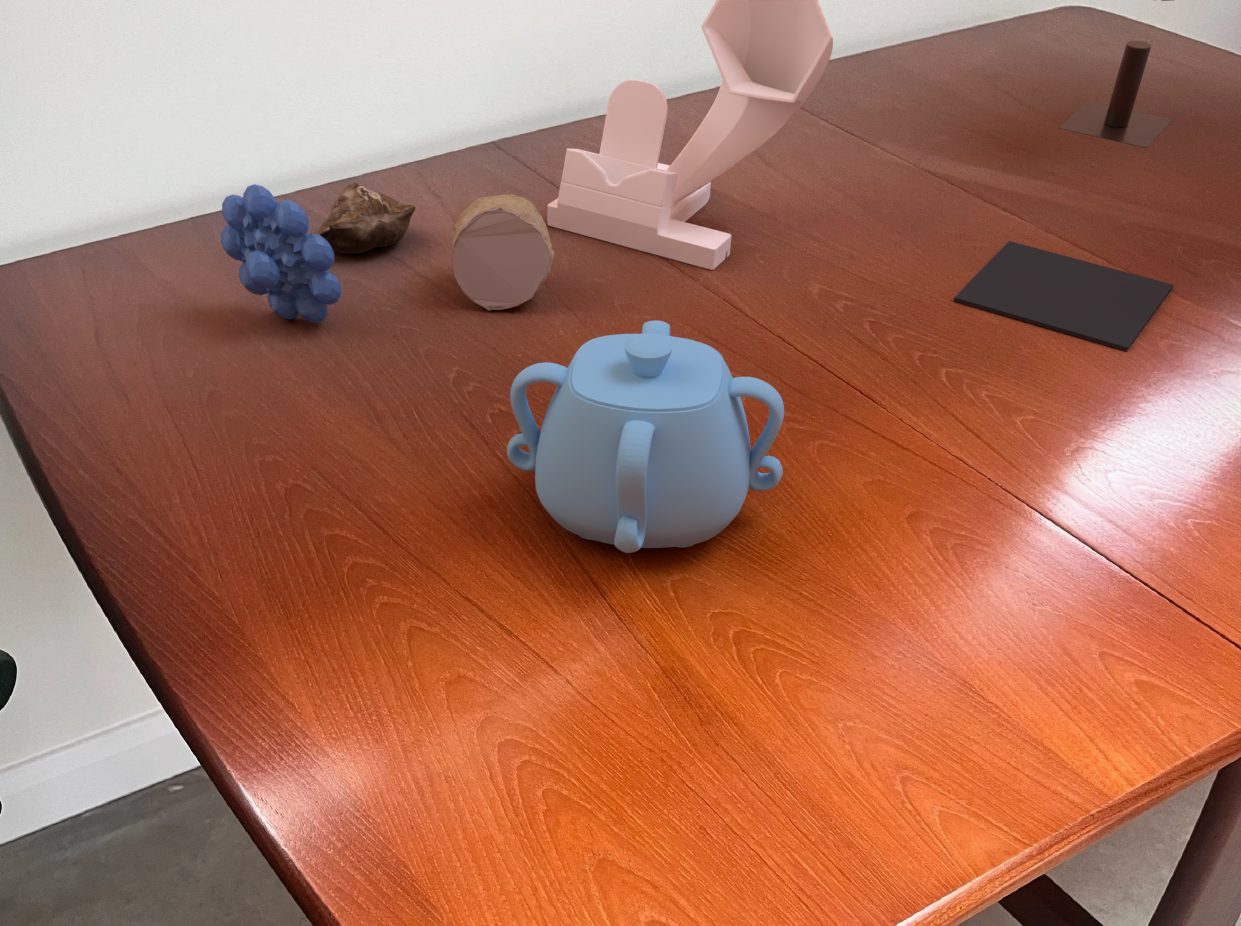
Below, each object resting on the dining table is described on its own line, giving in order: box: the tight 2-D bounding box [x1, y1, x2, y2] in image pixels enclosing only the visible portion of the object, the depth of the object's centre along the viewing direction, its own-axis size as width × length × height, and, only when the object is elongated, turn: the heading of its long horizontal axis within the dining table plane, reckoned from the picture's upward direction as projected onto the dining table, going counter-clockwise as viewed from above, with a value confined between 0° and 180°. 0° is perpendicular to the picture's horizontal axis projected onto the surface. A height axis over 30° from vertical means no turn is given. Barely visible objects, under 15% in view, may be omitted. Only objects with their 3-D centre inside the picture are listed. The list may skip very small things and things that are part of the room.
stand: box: [1058, 40, 1174, 149], centre depth 143 cm, size 10×10×10 cm
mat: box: [953, 240, 1174, 352], centre depth 119 cm, size 16×14×1 cm
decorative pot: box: [506, 319, 785, 554], centre depth 90 cm, size 16×16×14 cm
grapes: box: [220, 184, 342, 324], centre depth 110 cm, size 12×7×12 cm, turn 66°
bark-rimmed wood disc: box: [451, 193, 555, 312], centre depth 115 cm, size 10×10×10 cm
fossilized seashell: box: [315, 182, 416, 255], centre depth 124 cm, size 8×7×10 cm
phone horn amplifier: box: [547, 0, 834, 271], centre depth 121 cm, size 25×16×25 cm, turn 59°
